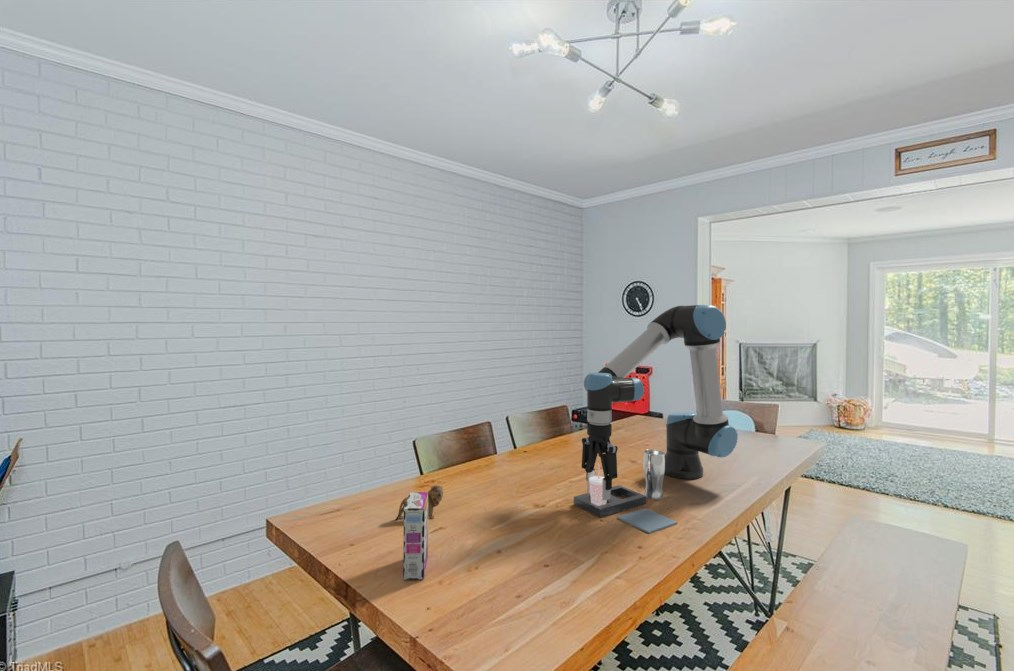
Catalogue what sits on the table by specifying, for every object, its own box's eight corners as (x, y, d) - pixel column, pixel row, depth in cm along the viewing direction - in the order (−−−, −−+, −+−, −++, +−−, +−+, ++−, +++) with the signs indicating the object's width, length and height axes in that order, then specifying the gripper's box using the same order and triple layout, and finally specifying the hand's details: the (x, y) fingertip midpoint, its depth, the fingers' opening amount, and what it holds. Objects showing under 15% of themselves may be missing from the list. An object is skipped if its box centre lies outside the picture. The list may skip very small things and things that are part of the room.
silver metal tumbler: (665, 501, 154) (666, 455, 154) (643, 499, 156) (644, 454, 155) (663, 493, 161) (663, 449, 161) (642, 492, 163) (642, 448, 162)
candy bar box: (425, 580, 107) (424, 508, 107) (402, 581, 107) (402, 509, 106) (429, 555, 119) (428, 491, 118) (408, 556, 118) (408, 491, 118)
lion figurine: (440, 510, 147) (440, 481, 147) (445, 516, 142) (445, 487, 142) (392, 519, 140) (392, 489, 140) (396, 526, 135) (396, 495, 135)
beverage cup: (604, 512, 145) (604, 467, 145) (585, 508, 148) (585, 464, 148) (611, 506, 150) (611, 462, 150) (593, 502, 153) (593, 459, 153)
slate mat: (645, 509, 148) (645, 508, 148) (677, 523, 137) (677, 522, 137) (617, 518, 141) (617, 516, 141) (648, 533, 131) (649, 531, 131)
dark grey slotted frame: (618, 492, 162) (618, 485, 162) (646, 503, 152) (646, 496, 152) (573, 504, 152) (573, 496, 152) (600, 517, 142) (600, 509, 141)
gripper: (570, 418, 154) (569, 488, 155) (612, 430, 138) (611, 508, 139) (587, 416, 158) (587, 484, 159) (630, 427, 142) (630, 503, 143)
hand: (598, 495), depth 149 cm, fingers closed on beverage cup, 6 cm apart
